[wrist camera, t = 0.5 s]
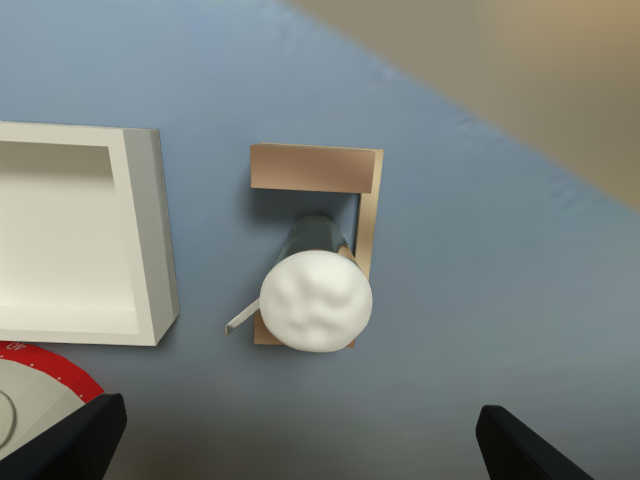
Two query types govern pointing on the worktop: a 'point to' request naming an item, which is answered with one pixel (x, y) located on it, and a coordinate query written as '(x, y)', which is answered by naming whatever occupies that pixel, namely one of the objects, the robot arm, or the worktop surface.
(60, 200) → the tray
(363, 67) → the worktop surface
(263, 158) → the wooden joined piece
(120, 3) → the worktop surface
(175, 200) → the worktop surface
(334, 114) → the worktop surface
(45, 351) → the kitchen timer
